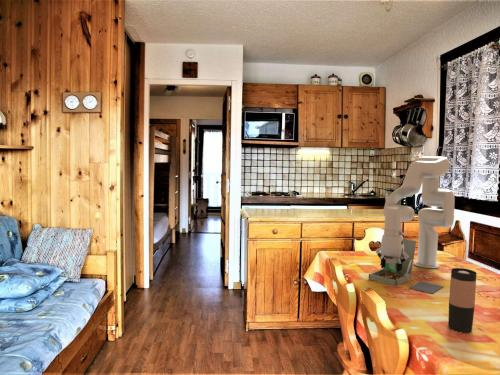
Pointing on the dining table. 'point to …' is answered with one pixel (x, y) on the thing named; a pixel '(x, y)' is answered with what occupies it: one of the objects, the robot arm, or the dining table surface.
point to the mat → (426, 287)
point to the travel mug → (462, 300)
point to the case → (406, 267)
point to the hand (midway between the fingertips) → (391, 269)
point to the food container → (391, 267)
